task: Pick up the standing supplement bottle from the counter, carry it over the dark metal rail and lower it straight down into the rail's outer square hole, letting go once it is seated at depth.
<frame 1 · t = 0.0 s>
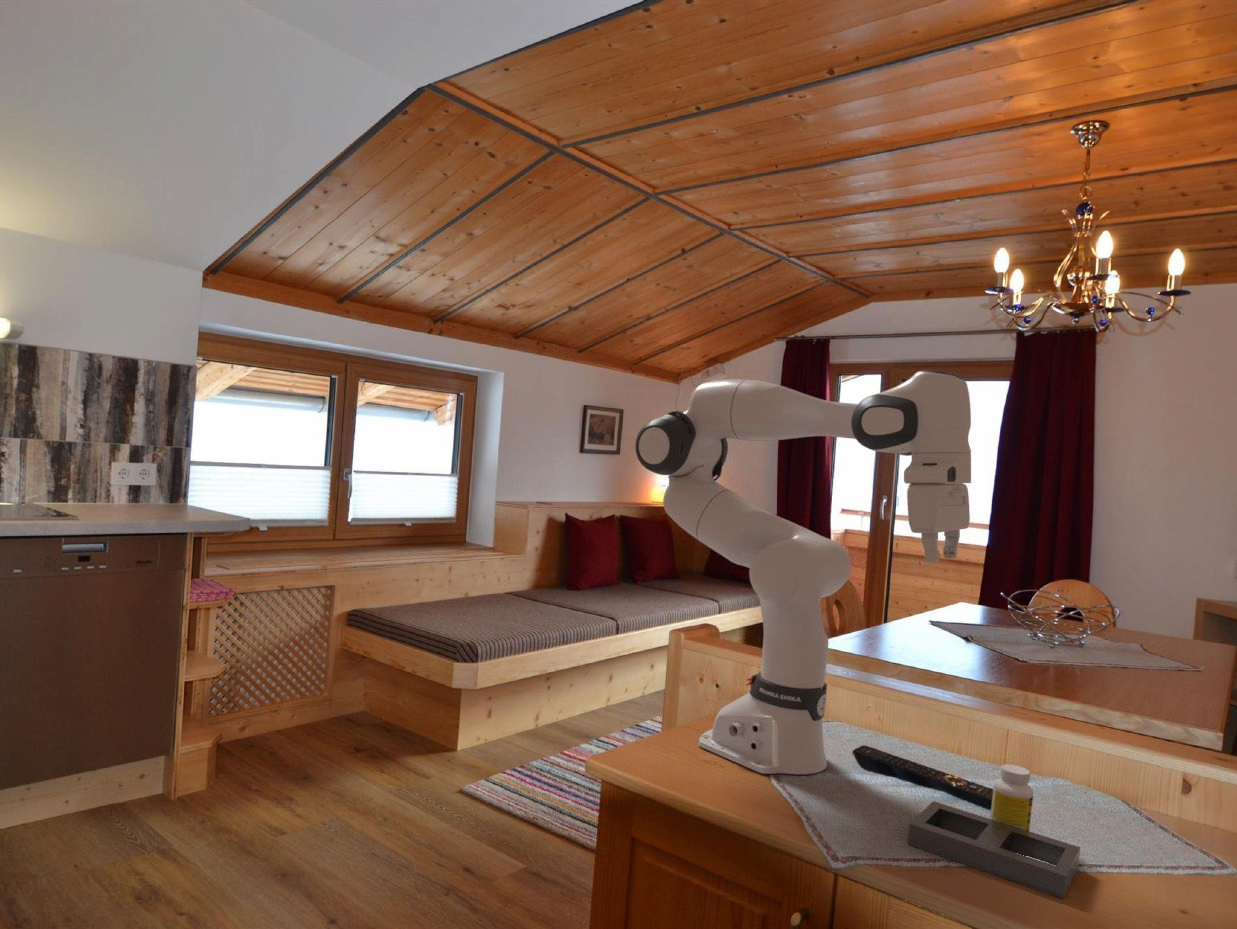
hand: (941, 560, 138), 39 cm above the table, tool pointing down, fingers open, 8 cm apart
supplement bottle: (1008, 835, 130), on the table
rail: (991, 856, 122), on the table
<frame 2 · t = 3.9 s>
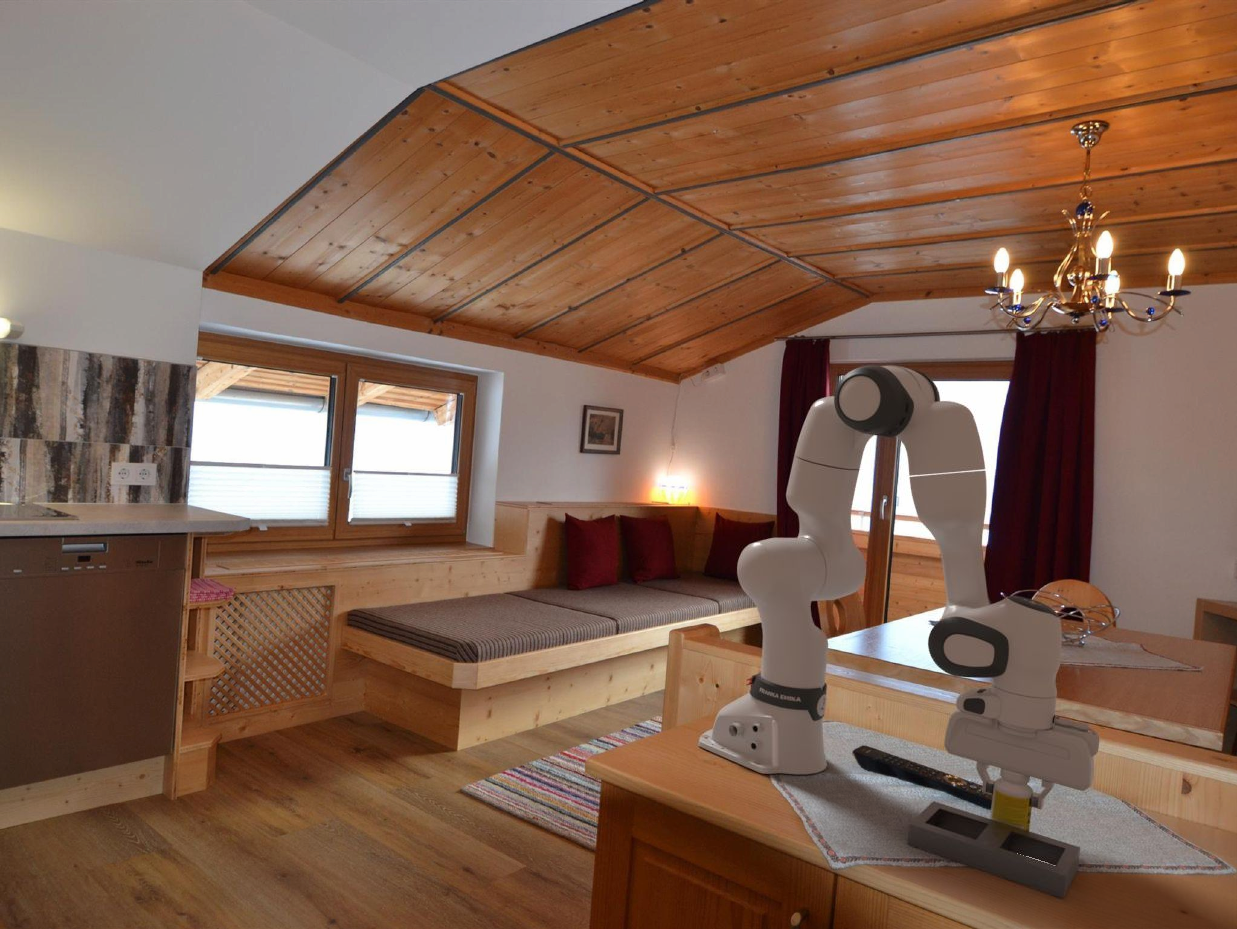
hand: (1012, 799, 130), 5 cm above the table, tool pointing down, fingers closed on supplement bottle, 5 cm apart
supplement bottle: (1008, 834, 130), on the table, touching gripper
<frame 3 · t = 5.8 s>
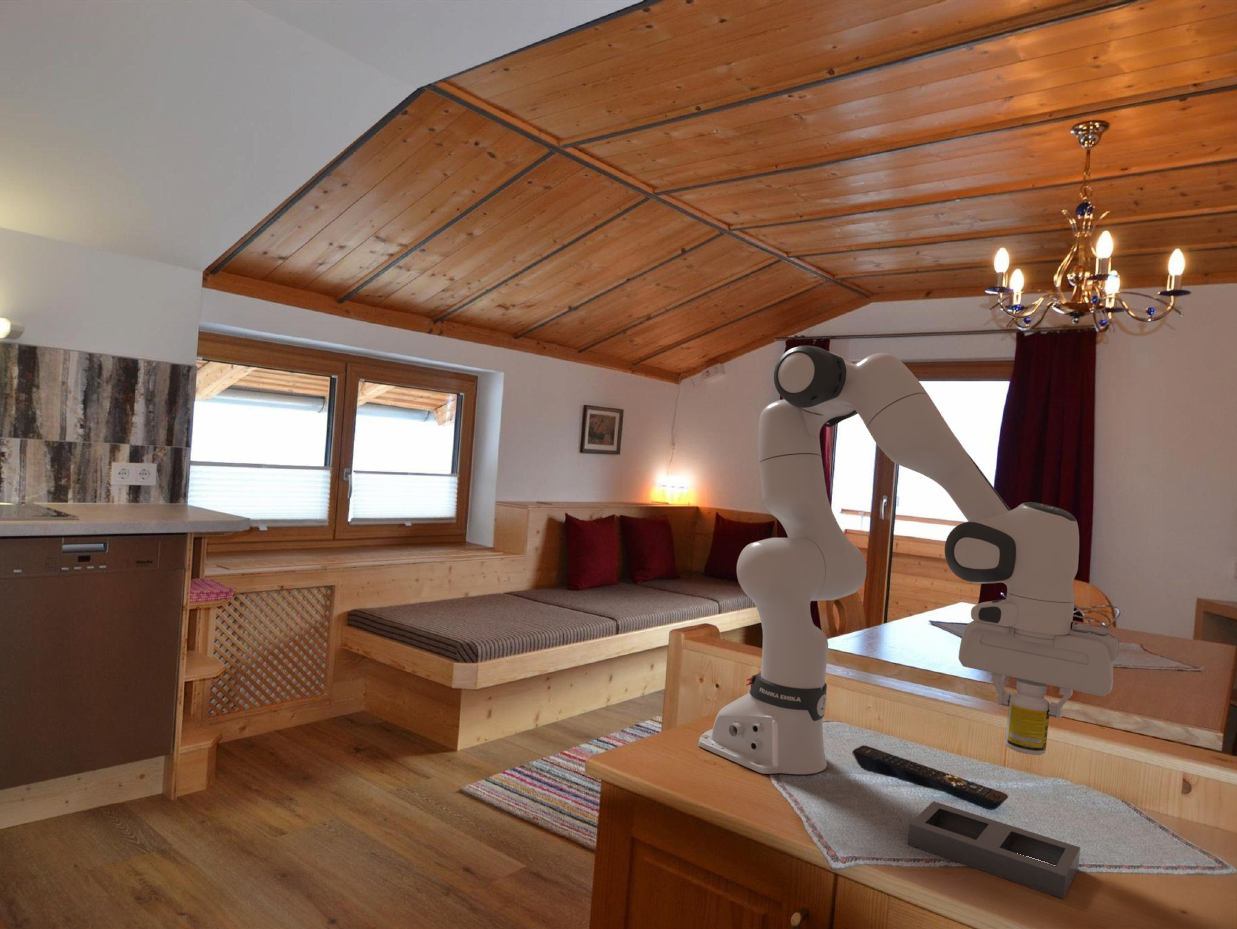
hand: (1028, 710, 127), 19 cm above the table, tool pointing down, fingers closed on supplement bottle, 5 cm apart
supplement bottle: (1024, 750, 127), point 14 cm above the table, touching gripper
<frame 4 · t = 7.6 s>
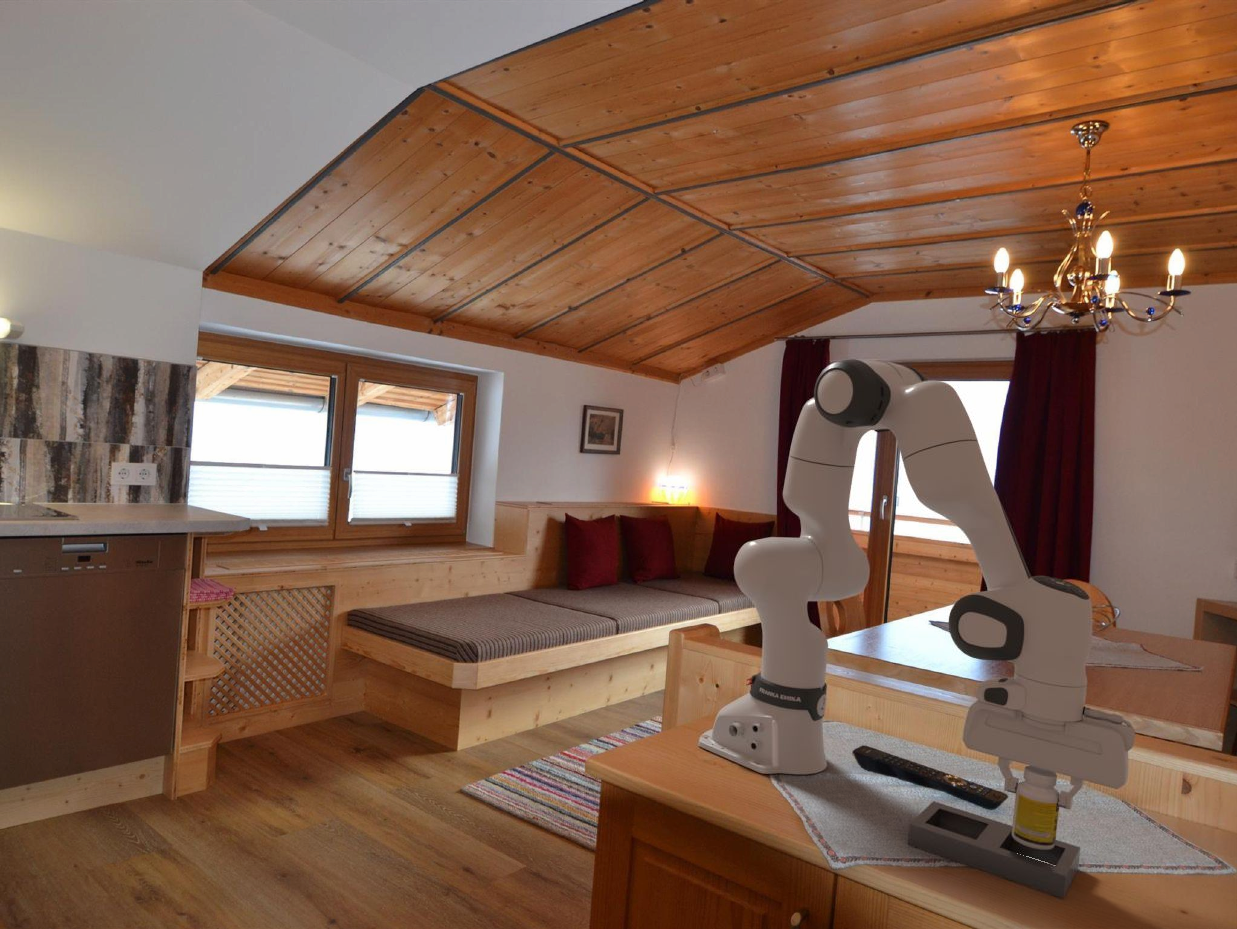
hand: (1037, 799, 119), 10 cm above the table, tool pointing down, fingers closed on supplement bottle, 5 cm apart
supplement bottle: (1032, 843, 119), point 4 cm above the table, touching gripper
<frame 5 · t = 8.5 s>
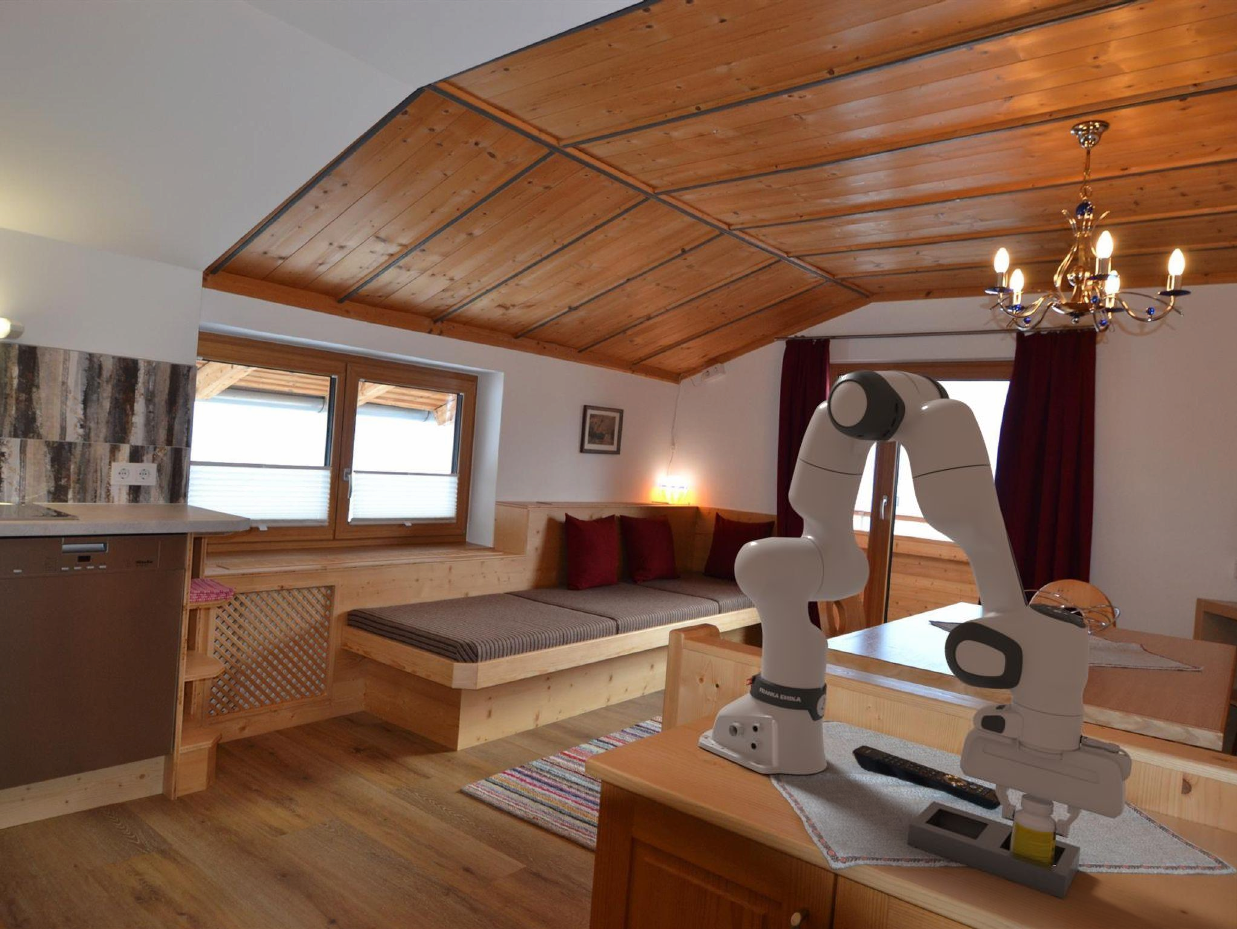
hand: (1034, 826, 119), 6 cm above the table, tool pointing down, fingers closed on supplement bottle, 5 cm apart
supplement bottle: (1029, 871, 119), resting in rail, touching gripper
when the fingers open (6 cm above the table, at t = 9.3 s): supplement bottle stays where it is, resting in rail.
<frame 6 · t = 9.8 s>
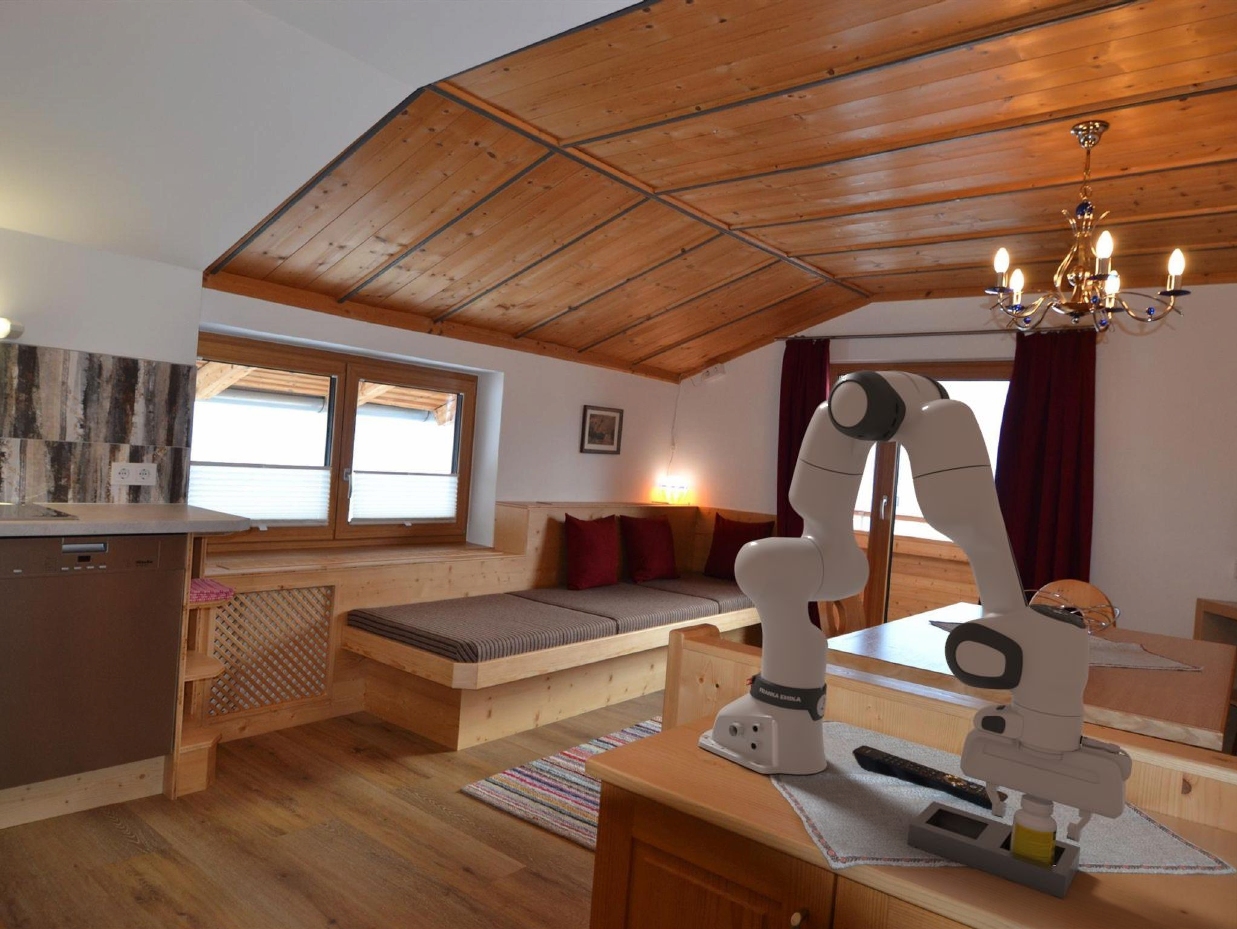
hand: (1034, 827, 119), 6 cm above the table, tool pointing down, fingers open, 8 cm apart
supplement bottle: (1029, 871, 119), resting in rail
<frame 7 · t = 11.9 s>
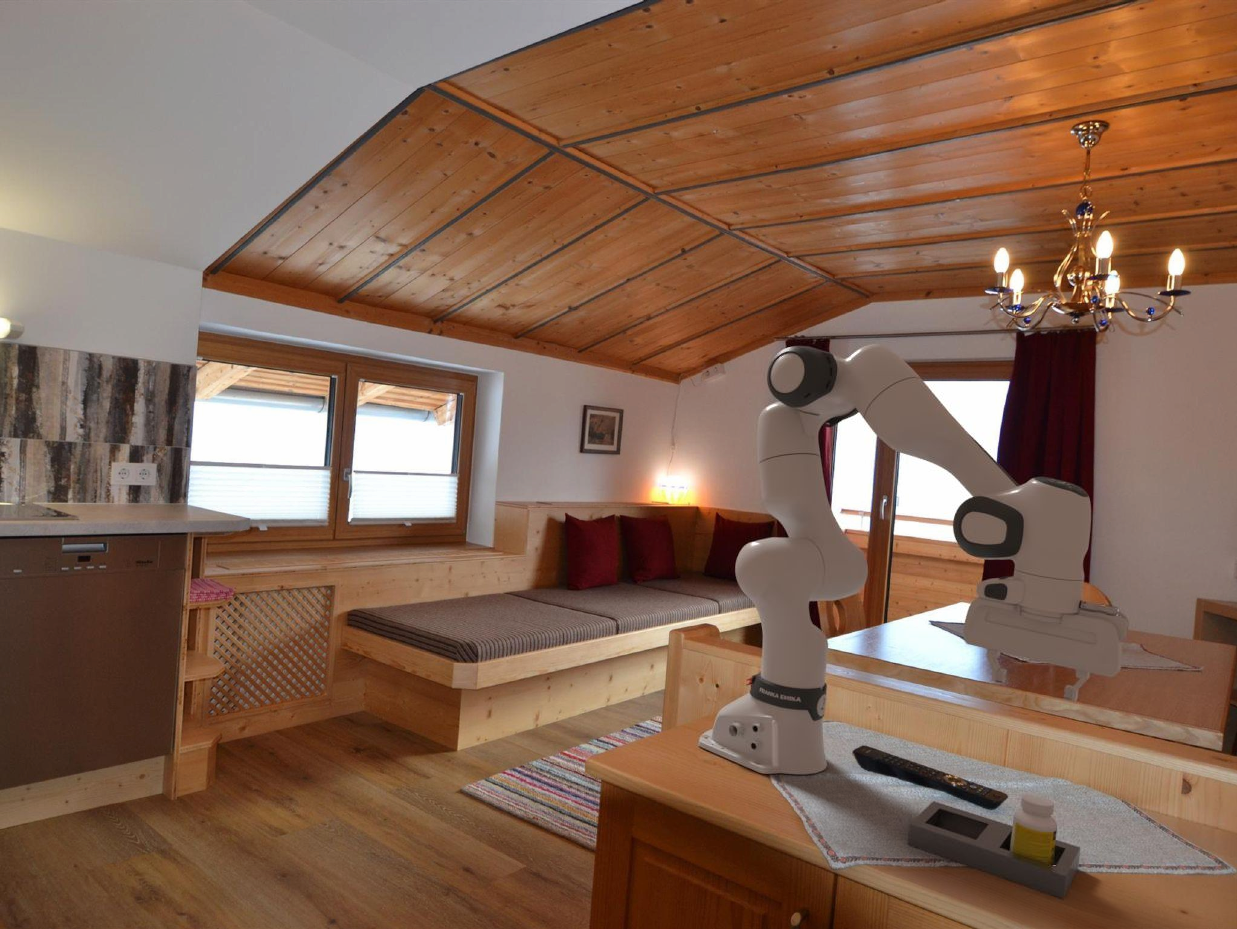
hand: (1033, 690, 124), 23 cm above the table, tool pointing down, fingers open, 8 cm apart
nothing on the table moved.
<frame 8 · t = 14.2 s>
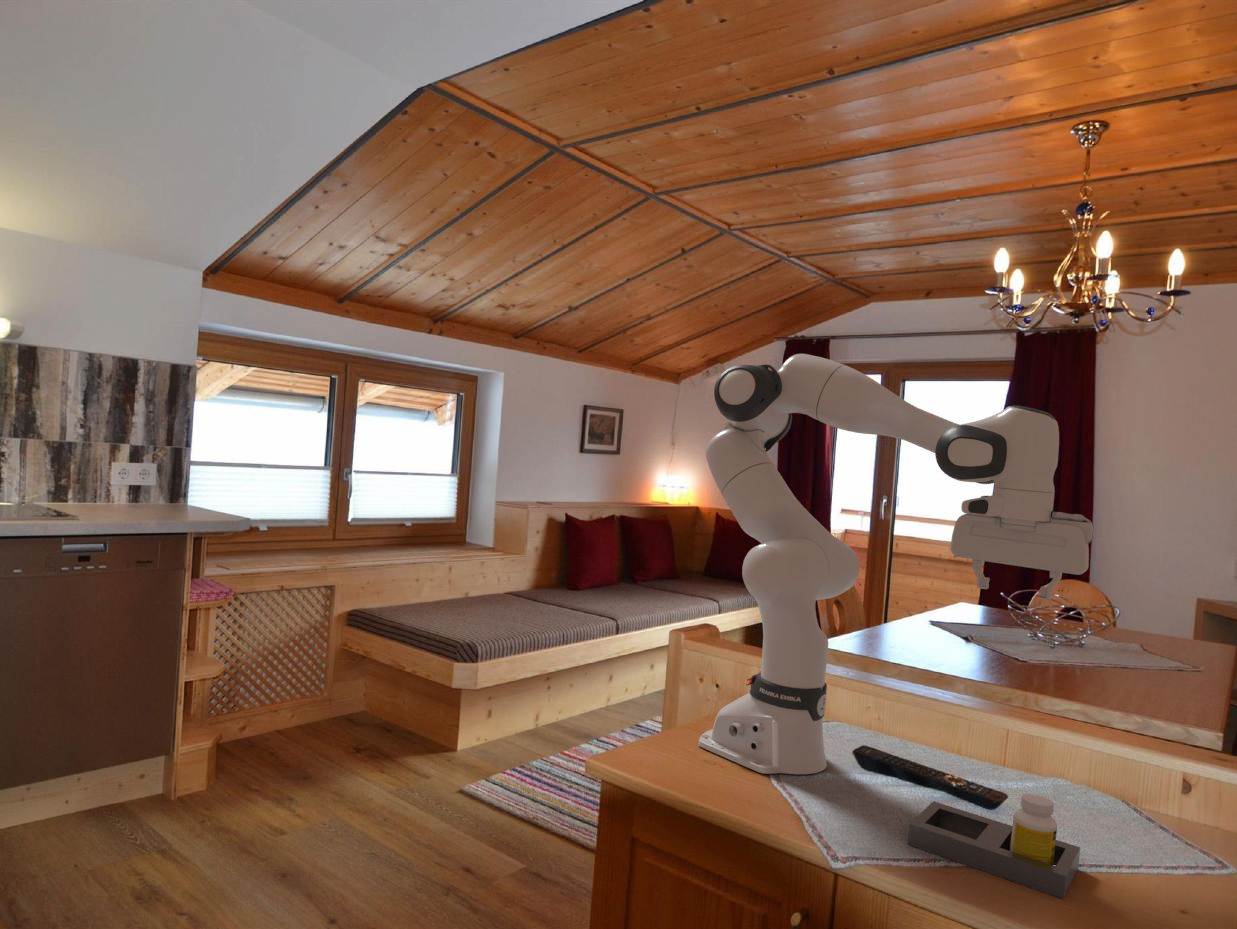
hand: (1013, 593, 141), 34 cm above the table, tool pointing down, fingers open, 8 cm apart
nothing on the table moved.
at the end: supplement bottle 0.1 cm from the target spot on the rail, point 0.0 cm above the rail's base; supplement bottle tilted 0°; the gripper is holding nothing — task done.
